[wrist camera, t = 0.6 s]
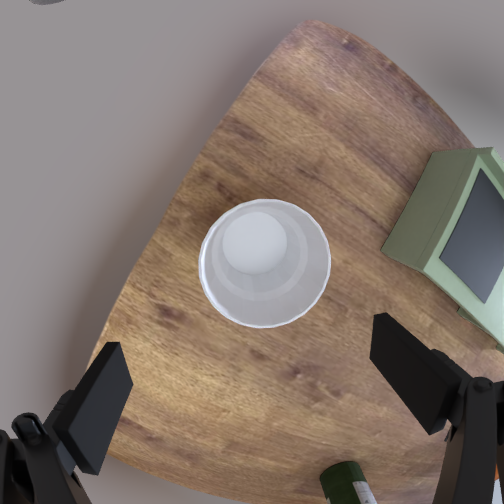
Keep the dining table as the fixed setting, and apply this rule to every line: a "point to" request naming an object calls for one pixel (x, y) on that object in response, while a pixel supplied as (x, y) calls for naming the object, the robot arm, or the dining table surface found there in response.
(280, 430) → the dining table surface
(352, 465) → the wine bottle
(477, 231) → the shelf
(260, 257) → the cup
